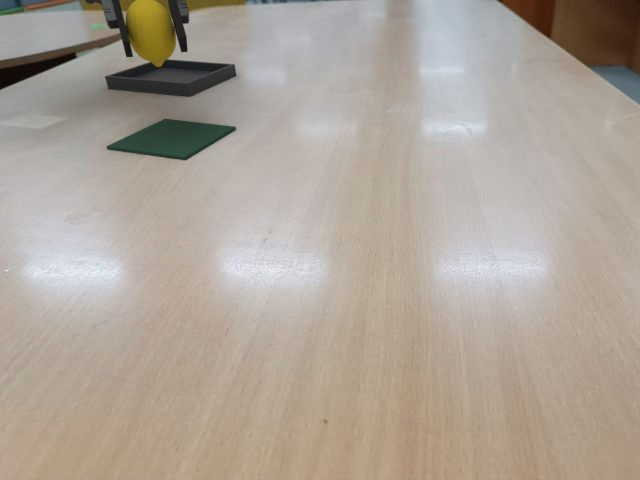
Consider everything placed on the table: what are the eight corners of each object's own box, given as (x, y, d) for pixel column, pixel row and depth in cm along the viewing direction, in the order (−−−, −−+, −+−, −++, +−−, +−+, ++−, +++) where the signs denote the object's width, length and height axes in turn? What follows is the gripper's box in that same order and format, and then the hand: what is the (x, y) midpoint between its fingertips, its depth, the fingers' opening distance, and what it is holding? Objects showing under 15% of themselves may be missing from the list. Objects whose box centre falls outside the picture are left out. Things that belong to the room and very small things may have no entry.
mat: (106, 149, 66) (106, 146, 66) (165, 121, 75) (164, 118, 75) (185, 160, 63) (184, 156, 62) (236, 129, 72) (235, 126, 72)
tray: (108, 88, 91) (104, 76, 90) (162, 69, 103) (159, 58, 102) (189, 96, 86) (187, 83, 85) (236, 75, 98) (234, 64, 97)
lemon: (146, 74, 61) (128, -1, 56) (128, 66, 64) (110, -5, 60) (189, 67, 64) (175, -6, 59) (170, 60, 67) (156, -9, 63)
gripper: (190, -92, 69) (234, 59, 66) (37, -92, 63) (77, 74, 60) (188, -147, 62) (237, 19, 59) (16, -152, 56) (59, 32, 53)
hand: (156, 47), depth 60 cm, fingers closed on lemon, 5 cm apart
